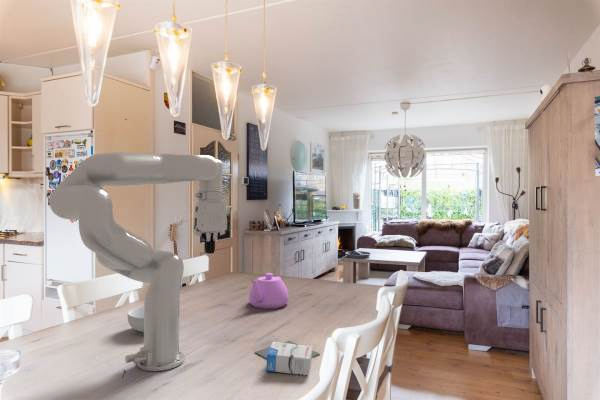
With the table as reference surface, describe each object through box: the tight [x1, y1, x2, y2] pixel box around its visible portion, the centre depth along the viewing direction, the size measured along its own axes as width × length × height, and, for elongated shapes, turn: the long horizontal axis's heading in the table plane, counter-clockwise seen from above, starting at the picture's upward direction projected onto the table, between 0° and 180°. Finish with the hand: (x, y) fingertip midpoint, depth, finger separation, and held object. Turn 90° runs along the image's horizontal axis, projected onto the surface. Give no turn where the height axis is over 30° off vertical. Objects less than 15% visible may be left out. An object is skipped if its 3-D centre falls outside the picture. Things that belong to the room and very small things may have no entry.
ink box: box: [265, 341, 314, 376], centre depth 108 cm, size 8×5×12 cm
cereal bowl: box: [127, 305, 144, 334], centre depth 137 cm, size 17×17×7 cm
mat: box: [254, 340, 321, 360], centre depth 117 cm, size 14×14×1 cm
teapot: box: [248, 272, 290, 310], centre depth 172 cm, size 25×18×14 cm
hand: (209, 253), depth 127 cm, fingers closed
